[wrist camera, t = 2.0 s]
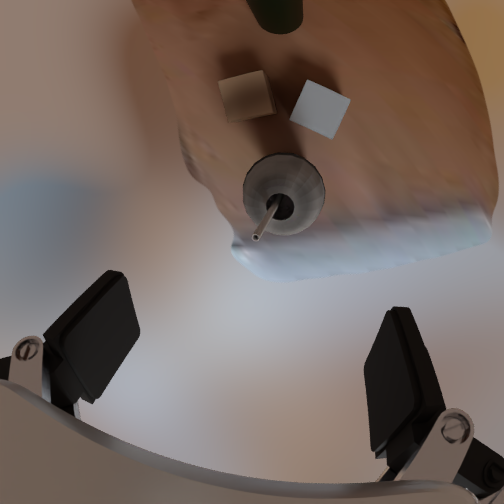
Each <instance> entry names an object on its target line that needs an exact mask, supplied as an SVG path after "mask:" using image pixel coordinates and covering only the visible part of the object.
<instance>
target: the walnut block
mask: <svg viewBox="0 0 504 504" xmlns="http://www.w3.org/2000/svg"><path fill="white" fill-rule="evenodd" d="M218 84H219V88H220V92H221V96H222V100H223V104H224V108H225V112H226V116H227V120H228V122H240V121H244V120H248V119H253V118H257V117H262V116H267V115H272V114H277V111H276V107H275V102H274V98H273V94H272V90H271V86H270V82H269V78H268V76H267V75H266V74H265V72H264V71H263V70H260V71H255V72H251V73H247V74H243V75H239V76H235V77H231V78H228V79H224V80H221V81H218Z"/></svg>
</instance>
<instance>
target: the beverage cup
mask: <svg viewBox="0 0 504 504" xmlns="http://www.w3.org/2000/svg"><path fill="white" fill-rule="evenodd" d="M324 199H325V187H324V183H323V179H322V177H321V175H320V174H319V172H318V170H317V169H316V167H315V166H314V165H313V164H311V163H310V162H309V161H308V160H306V159H305V158H303V157H301V156H299V155H296V154H294V153H279V152H278V153H274V154H271V155H267V156H265V157H263V158H262V159H260V160H259V161H257V162H256V163H254V165H253V166H252V167H251V169H250V170H249V171H248V173H247V175H246V178H245V181H244V184H243V203H244V206H245V209H246V212H247V214H248V215H249V217H250V218H251V219H252V221H253V222H254V223H255V224H256V225H257V226H258V227H257V229H256V230H255V232H254V233H253V235H252V239H253V240H254V241H258V240H259V239H260V238H261V236H262V234H263V232H264V231H266V232H269V233H272V234H274V235H291V234H295V233H299V232H300V231H302V230H304V229H306V228H308V227H309V226H310V225H311V224H312V223H313V222H314V221H315V219H316V218H317V217H318V215H319V213H320V211H321V209H322V207H323V204H324Z"/></svg>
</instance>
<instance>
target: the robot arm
mask: <svg viewBox="0 0 504 504" xmlns="http://www.w3.org/2000/svg"><path fill="white" fill-rule="evenodd" d="M43 336H44V338H45V340H46V341H45V342H44V343H43V342H42V340H41V339H40V338H39V337H37V336H28V337H25V338H23V339H21V340H20V341H19V342H18V343H17V344H16V345H15V347H14V348H13V351H12V356H9V357H5V358H2V359H0V504H504V458H503V457H502V456H500V455H499V454H497V453H496V452H495V451H493V450H491V449H490V448H489V447H487V446H486V445H484V444H482V443H481V442H480V441H478V440H477V439H475V438H474V437H473V435H474V424H473V422H472V419H471V418H470V416H469V415H468V414H467V413H465V412H464V411H463V410H460V409H456V408H451V409H447V410H446V406H445V403H444V400H443V396H442V392H441V389H440V386H439V383H438V379H437V376H436V373H435V370H434V367H433V364H432V361H431V359H430V356H429V353H428V350H427V348H426V347H425V345H424V343H423V340H422V337H421V335H420V332H419V330H418V327H417V324H416V322H415V320H414V317H413V315H412V313H411V310H410V308H407V307H393V308H392V309H391V310H388V311H387V312H386V314H385V317H384V319H383V322H382V324H381V327H380V329H379V332H378V334H377V337H376V339H375V341H374V344H373V346H372V348H371V351H370V353H369V355H368V357H367V360H366V362H365V365H364V378H365V386H366V395H367V405H368V416H369V428H370V444H371V450H372V451H373V452H375V456H376V457H375V458H376V459H380V458H387V466H388V467H387V468H386V469H385V470H384V472H383V473H382V474H381V476H380V477H379V478H378V479H377V480H376V481H375V482H370V483H350V484H324V483H323V484H322V483H321V484H320V483H318V484H317V483H297V482H284V481H274V480H266V479H258V478H252V477H245V476H239V475H234V474H229V473H224V472H219V471H215V470H210V469H206V468H202V467H198V466H195V465H191V464H187V463H184V462H180V461H177V460H174V459H170V458H167V457H164V456H162V455H159V454H156V453H153V452H150V451H147V450H145V449H142V448H140V447H137V446H134V445H132V444H130V443H127V442H124V441H122V440H120V439H118V438H116V437H113V436H111V435H109V434H107V433H105V432H103V431H100V430H98V429H96V428H94V427H92V426H90V425H88V424H86V423H85V422H82V421H81V418H80V412H79V405H78V399H79V398H80V397H81V398H82V399H83V400H85V401H87V402H89V403H91V404H93V403H94V401H95V399H98V398H99V397H100V396H101V395H102V393H103V392H104V390H105V389H106V387H107V385H108V384H109V382H110V380H111V379H112V377H113V376H114V374H115V373H116V371H117V370H118V368H119V367H120V365H121V364H122V362H123V361H124V359H125V357H126V356H127V354H128V353H129V351H130V350H131V348H132V347H133V345H134V344H135V342H136V341H137V340H138V338H139V336H140V327H139V324H138V320H137V317H136V313H135V309H134V305H133V302H132V298H131V294H130V289H129V285H128V281H127V278H126V277H125V276H124V274H123V273H122V272H118V271H113V270H108V271H106V272H105V273H104V274H103V275H102V276H101V277H100V278H98V280H96V281H95V282H94V283H93V284H92V285H91V286H90V287H89V288H88V289H87V290H86V291H85V292H84V293H83V294H82V295H81V296H80V297H79V298H78V299H77V300H76V301H75V302H74V303H73V304H72V305H71V306H70V307H69V308H68V309H67V310H66V311H65V312H64V313H63V314H62V315H61V316H60V317H59V318H58V319H57V320H56V321H55V322H54V323H53V324H52V325H51V326H50V327H49V328H48V329H47V331H46V332H45V333H44V334H43Z"/></svg>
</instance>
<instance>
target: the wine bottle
mask: <svg viewBox="0 0 504 504" xmlns="http://www.w3.org/2000/svg"><path fill="white" fill-rule="evenodd" d="M246 1H247V3H248V5H249V7H250V8H251V10H252V12H253V14H254V16H255V18H256V20H257V21H258V23H259V25H260V26H261V27H262V28H263V29H264V30H266V31H268V32H270V33H274V34H287V33H290V32H293V31H294V30H296V29H297V28H298V27H299V26H300V25H301V23H302V21H303V0H246Z"/></svg>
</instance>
